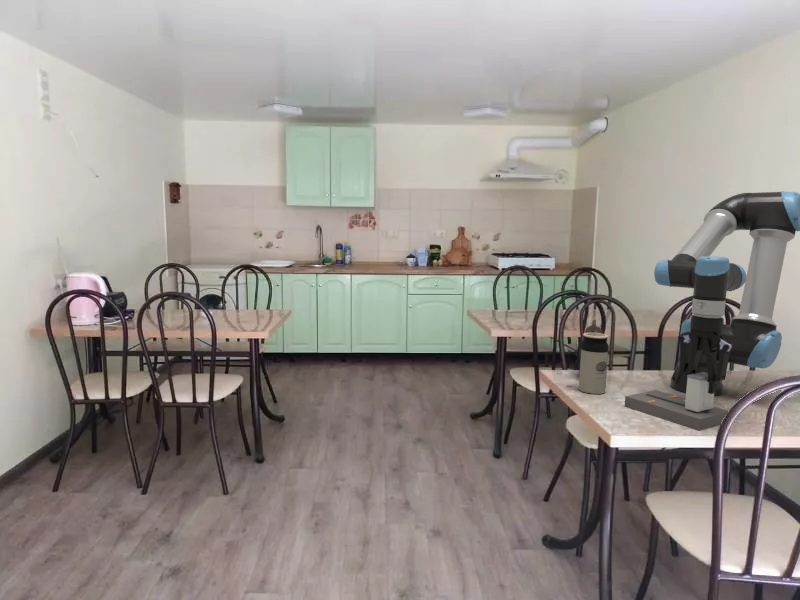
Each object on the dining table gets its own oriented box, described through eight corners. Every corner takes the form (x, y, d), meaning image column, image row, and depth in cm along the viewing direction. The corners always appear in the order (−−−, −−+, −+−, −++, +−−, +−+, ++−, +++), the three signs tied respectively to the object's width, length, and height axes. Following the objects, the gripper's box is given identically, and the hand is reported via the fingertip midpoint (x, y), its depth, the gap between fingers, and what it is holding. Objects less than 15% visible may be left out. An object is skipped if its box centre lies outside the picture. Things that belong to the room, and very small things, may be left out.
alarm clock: (579, 371, 199) (583, 316, 196) (600, 373, 196) (604, 317, 193) (576, 381, 185) (580, 322, 183) (599, 383, 182) (604, 324, 180)
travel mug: (574, 387, 177) (578, 332, 175) (598, 387, 178) (602, 332, 176) (585, 394, 169) (589, 337, 167) (609, 394, 170) (614, 337, 168)
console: (624, 406, 159) (625, 395, 158) (654, 399, 166) (655, 389, 166) (699, 430, 140) (700, 418, 140) (729, 422, 147) (730, 410, 147)
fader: (684, 408, 147) (687, 375, 146) (699, 404, 151) (703, 372, 149) (697, 412, 144) (700, 378, 143) (713, 408, 148) (716, 375, 146)
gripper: (669, 312, 149) (662, 396, 152) (732, 321, 135) (723, 413, 138) (685, 310, 153) (678, 392, 156) (748, 319, 139) (739, 409, 142)
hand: (699, 402), depth 147 cm, fingers closed on fader, 3 cm apart
